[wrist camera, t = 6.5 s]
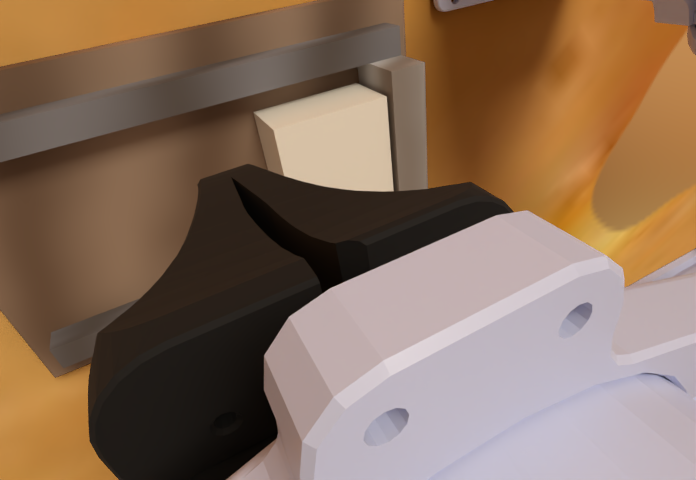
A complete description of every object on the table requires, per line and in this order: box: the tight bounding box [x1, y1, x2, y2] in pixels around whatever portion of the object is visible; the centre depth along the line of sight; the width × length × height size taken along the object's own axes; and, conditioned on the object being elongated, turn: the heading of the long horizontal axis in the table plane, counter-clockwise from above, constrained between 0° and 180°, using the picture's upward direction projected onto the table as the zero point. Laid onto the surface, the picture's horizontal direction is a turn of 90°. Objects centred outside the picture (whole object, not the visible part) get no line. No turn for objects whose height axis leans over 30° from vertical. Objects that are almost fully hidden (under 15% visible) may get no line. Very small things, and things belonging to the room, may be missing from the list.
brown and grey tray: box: [0, 0, 428, 378], centre depth 19 cm, size 20×13×4 cm, turn 99°
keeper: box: [253, 83, 394, 191], centre depth 20 cm, size 5×6×3 cm
